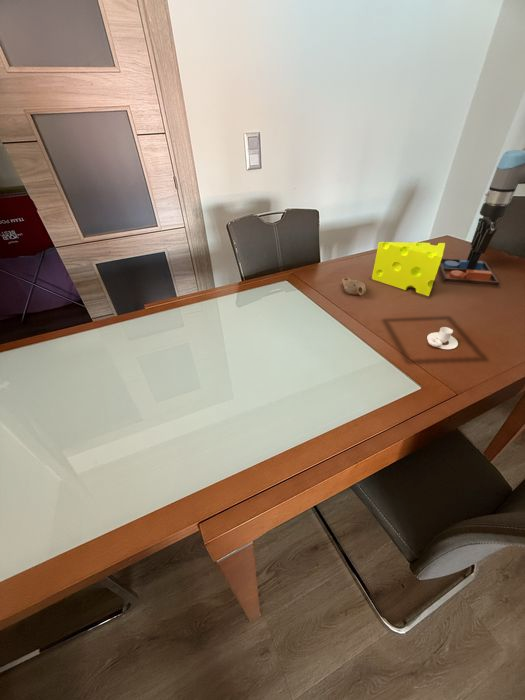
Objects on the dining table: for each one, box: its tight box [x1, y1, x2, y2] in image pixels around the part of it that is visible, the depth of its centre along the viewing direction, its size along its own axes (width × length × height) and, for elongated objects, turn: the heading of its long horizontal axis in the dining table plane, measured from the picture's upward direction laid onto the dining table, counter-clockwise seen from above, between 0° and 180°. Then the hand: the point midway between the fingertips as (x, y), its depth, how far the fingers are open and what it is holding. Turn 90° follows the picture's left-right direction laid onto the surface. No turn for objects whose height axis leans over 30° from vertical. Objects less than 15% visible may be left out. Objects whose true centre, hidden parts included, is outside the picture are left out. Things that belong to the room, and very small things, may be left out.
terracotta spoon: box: [449, 270, 492, 280], centre depth 114 cm, size 13×5×3 cm, turn 74°
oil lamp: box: [341, 277, 367, 296], centre depth 110 cm, size 13×8×5 cm, turn 14°
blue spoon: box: [444, 259, 484, 270], centre depth 121 cm, size 13×5×3 cm, turn 74°
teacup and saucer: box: [426, 326, 459, 350], centre depth 86 cm, size 9×8×4 cm
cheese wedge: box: [371, 241, 446, 297], centre depth 109 cm, size 19×20×15 cm
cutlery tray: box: [438, 257, 500, 287], centre depth 118 cm, size 18×19×2 cm
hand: (469, 266), depth 121 cm, fingers closed on blue spoon, 2 cm apart
